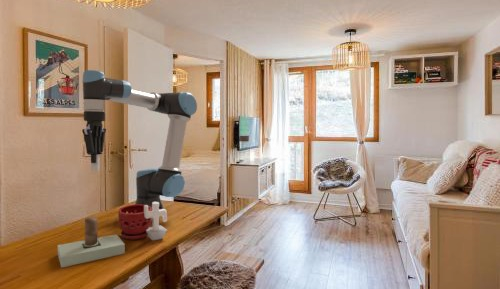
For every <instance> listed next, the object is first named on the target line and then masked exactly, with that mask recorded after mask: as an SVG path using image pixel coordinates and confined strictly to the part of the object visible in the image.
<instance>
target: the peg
mask: <svg viewBox="0 0 500 289" xmlns="http://www.w3.org/2000/svg"><path fill="white" fill-rule="evenodd" d="M97 238H98V217H96V216H95V217H94V216H92V217H87V218H85V219H84V240H85V244H84V246H85V248H86V249H87V248H92V247H96V246H97V245H98V242H97Z"/></svg>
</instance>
